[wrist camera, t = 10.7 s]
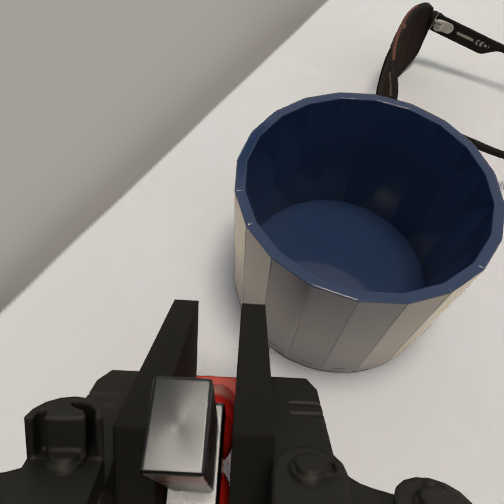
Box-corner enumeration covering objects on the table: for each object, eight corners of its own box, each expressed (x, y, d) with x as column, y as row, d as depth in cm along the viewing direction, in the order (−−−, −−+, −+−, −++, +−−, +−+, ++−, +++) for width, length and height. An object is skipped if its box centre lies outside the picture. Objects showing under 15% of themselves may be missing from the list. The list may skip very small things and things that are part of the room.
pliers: (152, 616, 14) (-52, 856, 4) (181, 379, 17) (115, 193, 8) (251, 621, 14) (298, 873, 4) (258, 383, 17) (294, 204, 8)
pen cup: (228, 367, 20) (226, 294, 14) (240, 196, 26) (242, 86, 19) (443, 378, 20) (539, 311, 14) (412, 205, 26) (472, 99, 19)
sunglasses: (388, 48, 33) (420, -20, 29) (542, 114, 32) (600, 55, 28) (343, 142, 28) (375, 77, 23) (526, 224, 27) (594, 172, 23)
